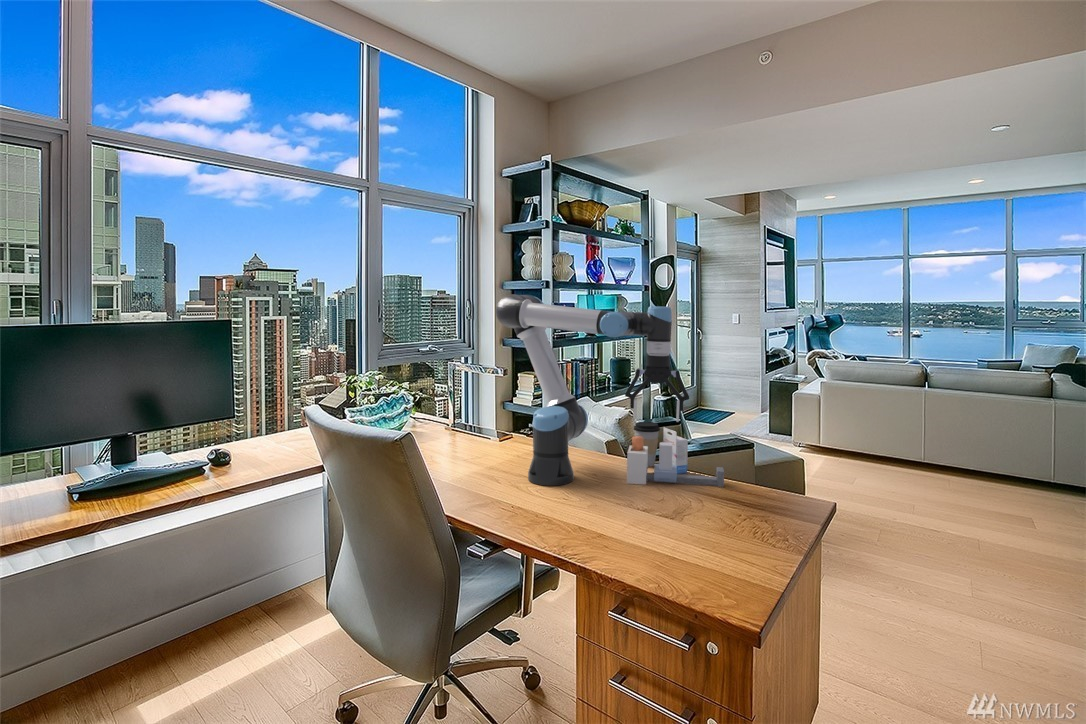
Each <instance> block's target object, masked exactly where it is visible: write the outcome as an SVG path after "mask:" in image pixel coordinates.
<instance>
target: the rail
mask: <svg viewBox="0 0 1086 724" xmlns="http://www.w3.org/2000/svg"><path fill="white" fill-rule="evenodd" d="M715 469H716V470H715V471H716V472H715V476H706V475H690V474H677V479H676V482H664V481H654V472H647V479H646V482H651V483H652V482H653V483H654V482H655V483H667V484H683V485H696V486H697V485H698V486H699V485H701V486H711V487H712V486H715V487H717V488H724V487H725V470H724V467H722V466H716V467H715Z"/></svg>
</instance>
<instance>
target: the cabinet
mask: <svg viewBox="0 0 1086 724" xmlns="http://www.w3.org/2000/svg"><path fill="white" fill-rule="evenodd" d="M628 446H629V447H628V450H627V452H626V453H627V454H626V455H627V458H626V459H627V463H626V465H627V468H626V470H627V471H626V483H627V484H630V485H631V484H633V485H635V484H636V485H647V481H646V479H647V473H648V468H649V467H648V446H643V450H642V451H635V450H632V445H631V444H630V445H628Z"/></svg>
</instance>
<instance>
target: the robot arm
mask: <svg viewBox="0 0 1086 724" xmlns="http://www.w3.org/2000/svg"><path fill="white" fill-rule="evenodd" d="M495 315H496V318H497V320H498V322H499V323H500V324H501V325H503V326H504V327H506V328H509V329H514V332H515V335H516V337H517V339H518V338H519V339H521V340H522V341H523V345H524V346H525V350H526V352H527V355H528V357H529V359H530V363H531V365H532V367H533V370H534V373H535V375H536V378H537V380H538V384H539V386H540V389H541V391H542V393H543V396H544V399H545V402H546V403H545V406H543V407H540V408H538V409H536V410H535V411H534V412H533V416H532V417H533V419H532V443H533V444H532V453H533V454H532V459H531V462H530V464H529V468H528V471H527V479H528V481H529V482H530V483H532V484H535V485H540V486H549V487H550V486H552V487H553V486H554V487H555V486H562V485H566V484H570V483H572V482H573V481H574V477H575V476H574V474H575V473H574V469H573V467H572V463H571V460H570V457H569V442H570V441H571V440H573V439H575V438H579V436H580V435H582V434H583V433H584V432H585V430H586V429H587V426H588V423H589V417H588V412H587V411H586V409H585V408H584V407H583V406H582V405H581V404H579V403H578V401H577V399H576V396H575V395H573V394H571V393H570V392H569V389H568V387H567V384H566V382H565V379H564V376H563V373H562V371H561V369H560V366H559V364H558V361H557V359H556V356H555V353H554V351H553V348H552V346H551V343H550V340H549V338H548V335H547V333H546V329H554V330H561V331H562V330H563V331H570V332H579V333H584V334H585V333H587V334H593V335H602V336H606V337H608V338H619V337H624V336H646V354H647V355H646V357H645V361H646V362H645V369H641V368H636V370H635V374H634V375H635V376H634V377H633V379H632V380H631V382H630V385H629V386H628V388H627V390H626V391H625V394H624V396H625V397H626V398H627V397H628V398H629V399H630V401H629V402H630V404H629V405H630V406H629V407H630V409H633V415H632V417H633V420H636V419H637V407H638V406H637V404H638V402H637V401H638V400H637V399H638V398H637V396H638V395H639V394H640V393H641V392H642V390H644V388H645V387H646V386H648V384H649V383H651V384H655V385H656V384H660V385H662V384H664V383H665V385H666V386H667V387H668V388H669V389H670V390H671V392H672V393H673V394H674V396H675V397H676V398H677V399H678V400H676V413H675V414H676V418H675V419H676V421H675V423H679V422H680V412H683V411H684V402H685V401H688V400H689V399H690V395H689V393H688V391H687V389H686V387H685V384H684V383H683V380H682V378H681V375H680V374H681V372H680V370H679V369H675V370H671V356H670V354H671V351H672V350H671V348H672V347H671V346H672V338H671V337H672V324H673V319H672V317H673V316H672V308H671V307H669V306H656V305H655V306H648V308H647V311H646V312H644V311H643V312H638V311H637V312H636V311H634V312H633V311H610V310H602V309H593V308H592V309H591V308H582V307H575V306H574V307H573V306H566V305H554V304H547V303H544V302H543V300H542V299H540V298H538V297H536V296H534V295H532V294H514V293H513V294H511V293H510V294H508V295H505V296H503V297H502V298H501V299H499V301H498V302H497V304H496V308H495ZM643 374H644V375H645V377H646V379H645V380H644V381H643V382H642V383H641V384H640V385H639V386H638V387H637V388H636V389H635V390H634V391H633V393H631V392H632V390H633V388H634V387H635V385H636V383H637V381H638V380H639V378H640V377H642V375H643ZM671 375H672V377H674V378H676V381H677V383H678V385H679V387H680V390H681V393H683V396H682V394H681V393H680V392H679V390H677V388H676V387H675V386H674V384H673V383H672V382H671V381H670V379H669V378H670V377H671Z"/></svg>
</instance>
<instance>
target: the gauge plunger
mask: <svg viewBox="0 0 1086 724" xmlns="http://www.w3.org/2000/svg"><path fill="white" fill-rule="evenodd" d="M643 439H644V438H643V437H641V436H636V435H634V436H632V439H631V440H632V441H631V444H632V445H631V446H632V450H635V451H642V450H643Z"/></svg>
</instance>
